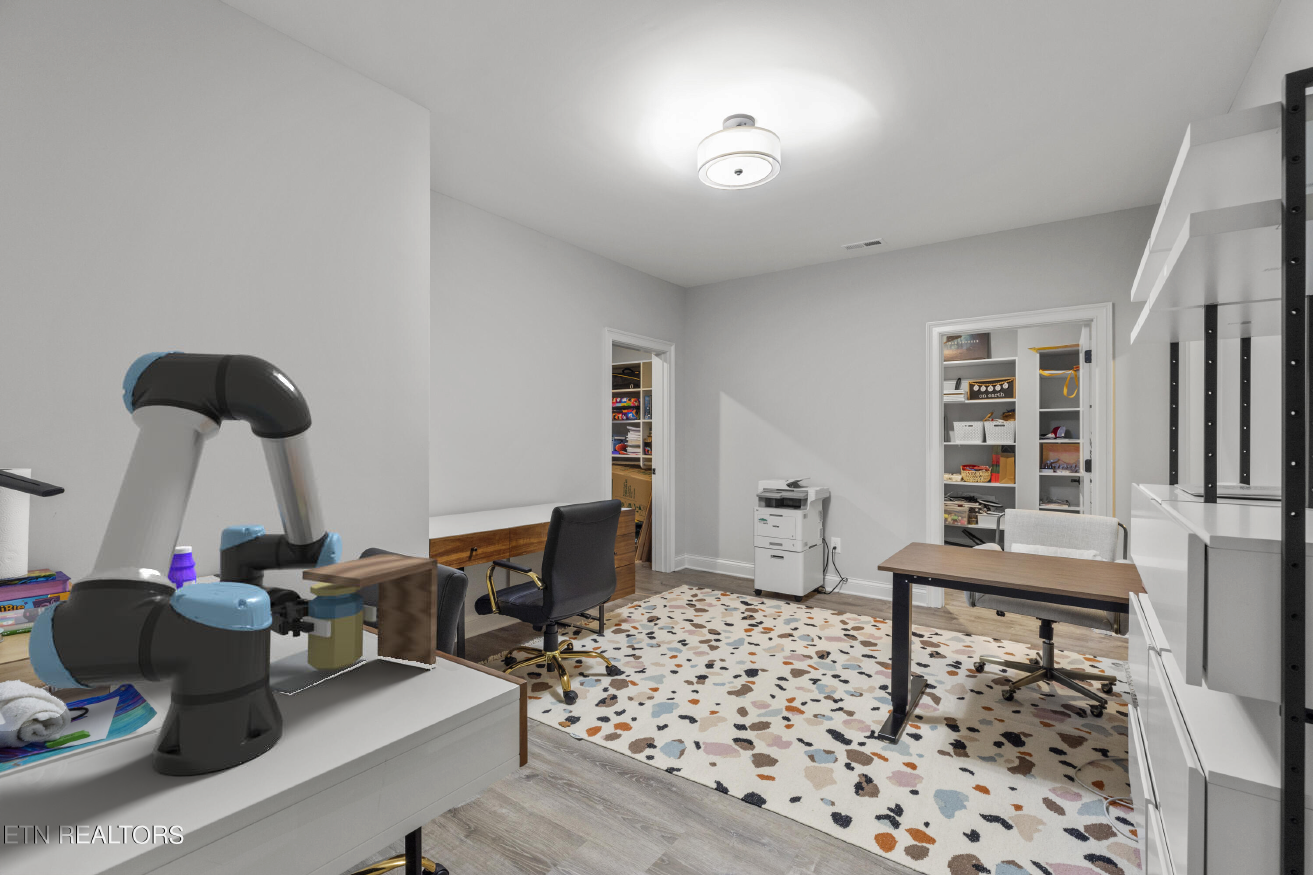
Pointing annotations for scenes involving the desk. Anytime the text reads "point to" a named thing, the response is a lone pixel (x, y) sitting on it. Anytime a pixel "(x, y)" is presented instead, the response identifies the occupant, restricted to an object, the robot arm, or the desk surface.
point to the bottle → (182, 567)
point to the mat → (298, 673)
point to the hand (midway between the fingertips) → (352, 621)
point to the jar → (336, 626)
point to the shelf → (395, 600)
